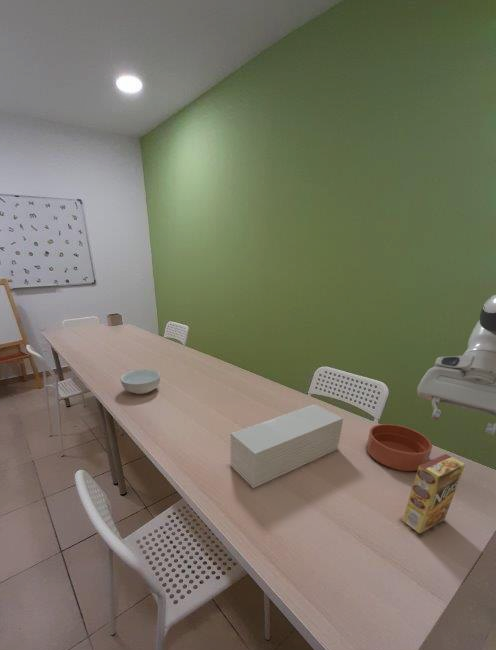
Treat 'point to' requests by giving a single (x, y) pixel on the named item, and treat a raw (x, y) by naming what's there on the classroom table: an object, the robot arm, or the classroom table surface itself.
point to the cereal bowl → (140, 381)
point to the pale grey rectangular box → (284, 443)
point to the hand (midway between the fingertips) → (461, 425)
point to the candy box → (432, 492)
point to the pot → (398, 447)
